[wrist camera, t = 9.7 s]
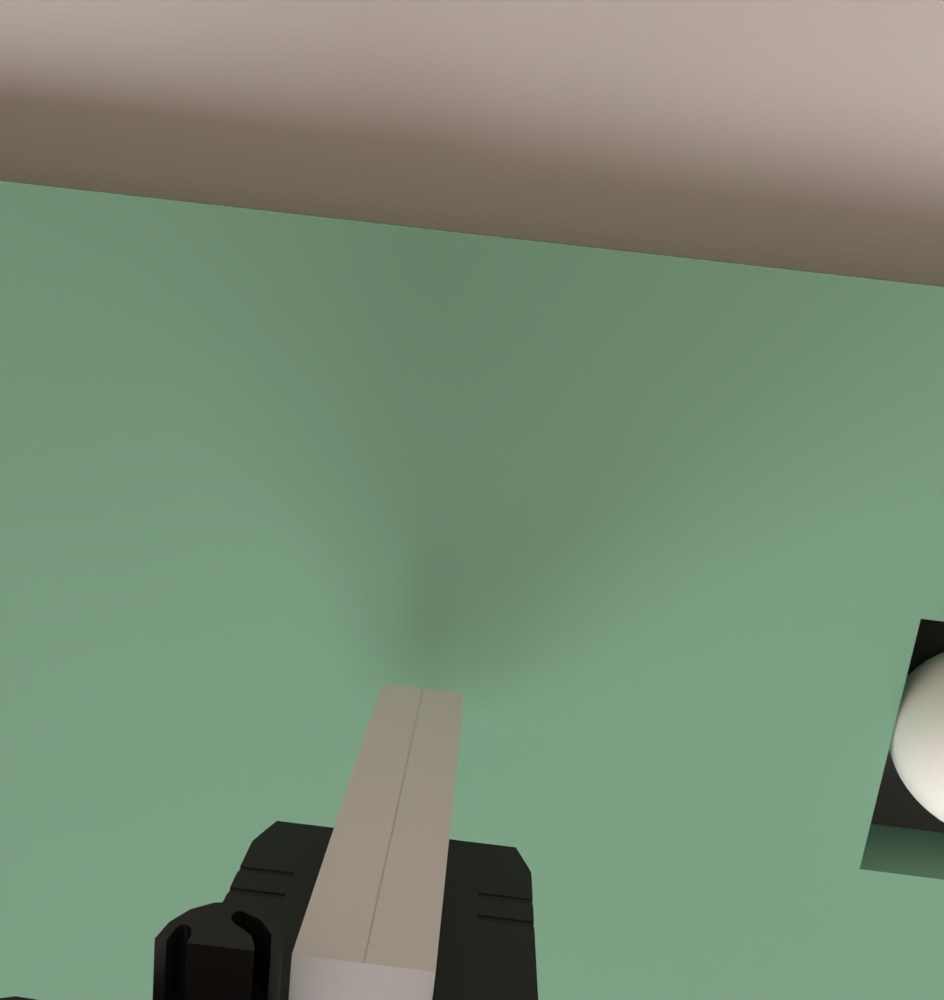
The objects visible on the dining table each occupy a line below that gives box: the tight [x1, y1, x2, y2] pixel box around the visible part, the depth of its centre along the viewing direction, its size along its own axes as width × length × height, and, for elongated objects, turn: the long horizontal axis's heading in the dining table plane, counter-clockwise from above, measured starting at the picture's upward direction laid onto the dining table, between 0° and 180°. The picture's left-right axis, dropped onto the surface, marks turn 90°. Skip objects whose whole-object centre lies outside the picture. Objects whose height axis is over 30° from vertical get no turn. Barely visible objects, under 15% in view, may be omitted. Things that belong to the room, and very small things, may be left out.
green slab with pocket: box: [0, 181, 944, 1000], centre depth 17 cm, size 34×18×4 cm, turn 84°
